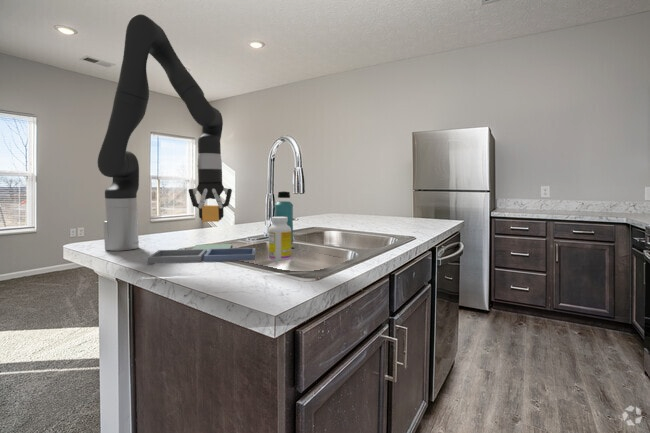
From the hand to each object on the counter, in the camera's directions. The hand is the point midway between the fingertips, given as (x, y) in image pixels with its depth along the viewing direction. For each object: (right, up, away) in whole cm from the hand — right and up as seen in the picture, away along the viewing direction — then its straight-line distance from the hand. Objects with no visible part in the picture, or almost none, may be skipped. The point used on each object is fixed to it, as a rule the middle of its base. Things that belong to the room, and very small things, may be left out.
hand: (211, 219), depth 116 cm
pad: (0, -10, +1) cm, 11 cm away
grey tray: (-5, -12, -13) cm, 18 cm away
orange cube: (0, 0, 0) cm, 0 cm away
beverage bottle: (+24, -11, +4) cm, 26 cm away
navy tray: (+9, -12, -10) cm, 18 cm away
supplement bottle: (+24, -12, -12) cm, 30 cm away
